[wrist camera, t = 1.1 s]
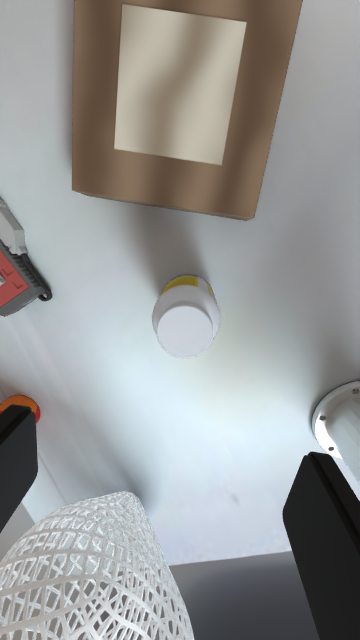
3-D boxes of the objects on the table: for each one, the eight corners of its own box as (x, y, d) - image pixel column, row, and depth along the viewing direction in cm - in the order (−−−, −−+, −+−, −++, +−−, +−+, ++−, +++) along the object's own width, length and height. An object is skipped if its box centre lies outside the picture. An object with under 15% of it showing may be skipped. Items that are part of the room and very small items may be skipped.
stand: (292, 8, 23) (312, -41, 19) (246, 220, 29) (254, 217, 25) (94, -21, 23) (73, -75, 19) (88, 196, 29) (70, 189, 25)
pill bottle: (151, 295, 32) (128, 325, 21) (192, 262, 30) (190, 276, 19) (184, 333, 33) (178, 381, 22) (224, 303, 32) (240, 339, 21)
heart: (210, 537, 45) (224, 805, 24) (136, 559, 48) (89, 814, 27) (126, 417, 38) (38, 643, 17) (45, 452, 41) (-114, 681, 20)
